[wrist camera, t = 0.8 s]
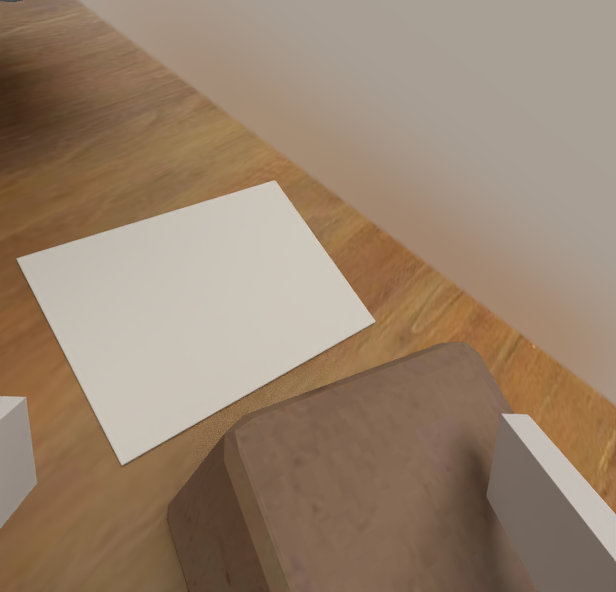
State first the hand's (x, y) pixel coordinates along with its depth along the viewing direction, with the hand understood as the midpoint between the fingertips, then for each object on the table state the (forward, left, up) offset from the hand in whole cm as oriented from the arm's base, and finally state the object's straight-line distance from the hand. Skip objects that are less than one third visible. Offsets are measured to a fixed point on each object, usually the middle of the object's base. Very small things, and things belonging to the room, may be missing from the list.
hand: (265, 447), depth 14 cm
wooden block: (+4, +3, -20) cm, 20 cm away
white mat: (-13, +9, -19) cm, 25 cm away
